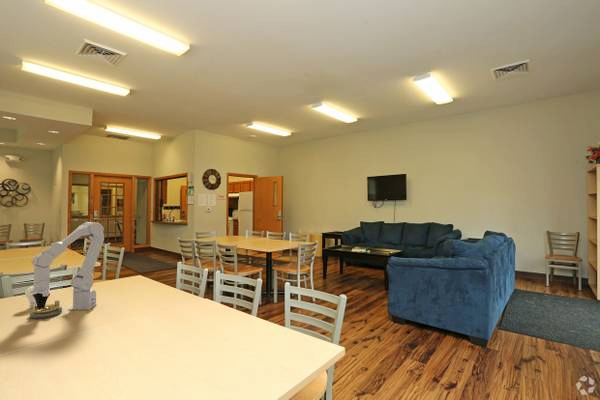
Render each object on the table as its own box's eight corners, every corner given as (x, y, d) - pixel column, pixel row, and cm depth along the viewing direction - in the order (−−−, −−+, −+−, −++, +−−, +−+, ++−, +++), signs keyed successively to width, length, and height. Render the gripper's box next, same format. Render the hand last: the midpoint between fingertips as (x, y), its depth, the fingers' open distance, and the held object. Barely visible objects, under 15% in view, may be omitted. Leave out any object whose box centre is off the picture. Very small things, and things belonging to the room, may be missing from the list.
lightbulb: (33, 309, 153) (34, 287, 153) (21, 309, 153) (21, 287, 153) (44, 305, 159) (44, 284, 159) (32, 305, 159) (32, 284, 159)
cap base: (67, 310, 153) (68, 305, 153) (49, 319, 141) (49, 314, 141) (43, 310, 152) (43, 306, 152) (22, 319, 140) (22, 314, 140)
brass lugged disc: (64, 306, 152) (64, 299, 152) (49, 313, 142) (49, 306, 142) (43, 306, 151) (43, 300, 151) (26, 313, 141) (26, 306, 141)
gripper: (26, 278, 144) (25, 307, 144) (34, 284, 135) (34, 314, 135) (45, 276, 149) (44, 303, 149) (54, 281, 141) (53, 310, 140)
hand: (40, 308), depth 142 cm, fingers closed
